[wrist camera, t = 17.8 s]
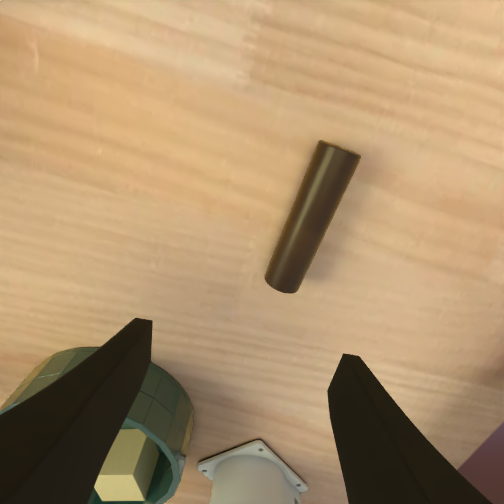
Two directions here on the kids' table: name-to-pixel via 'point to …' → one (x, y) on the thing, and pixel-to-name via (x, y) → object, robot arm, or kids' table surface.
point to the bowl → (132, 418)
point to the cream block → (128, 467)
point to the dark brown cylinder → (311, 215)
